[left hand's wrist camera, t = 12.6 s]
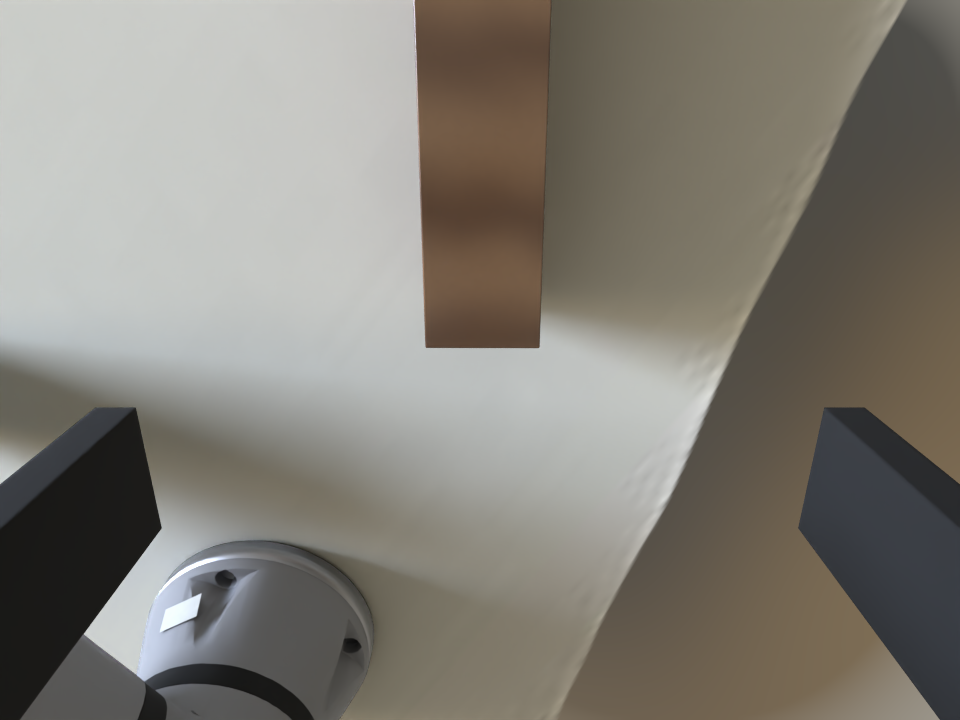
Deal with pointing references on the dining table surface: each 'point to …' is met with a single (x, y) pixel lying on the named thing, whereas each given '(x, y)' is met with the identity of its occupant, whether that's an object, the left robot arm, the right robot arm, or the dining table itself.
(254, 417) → the dining table surface
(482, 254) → the post
